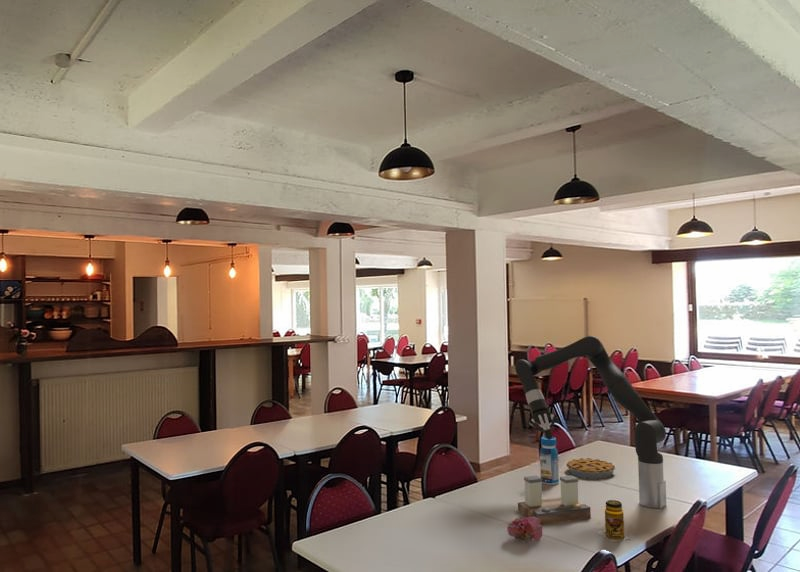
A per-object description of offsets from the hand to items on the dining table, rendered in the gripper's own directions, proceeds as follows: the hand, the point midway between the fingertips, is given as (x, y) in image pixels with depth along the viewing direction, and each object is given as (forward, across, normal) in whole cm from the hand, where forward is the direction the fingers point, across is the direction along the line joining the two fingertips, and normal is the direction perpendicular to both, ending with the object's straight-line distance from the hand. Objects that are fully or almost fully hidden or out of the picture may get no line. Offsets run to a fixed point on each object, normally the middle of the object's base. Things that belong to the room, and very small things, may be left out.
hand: (549, 439), depth 248 cm
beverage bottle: (+13, +1, -24) cm, 27 cm away
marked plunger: (+29, +4, +11) cm, 31 cm away
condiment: (+45, -3, +28) cm, 53 cm away
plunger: (+26, +18, +12) cm, 33 cm away
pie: (+11, -22, -37) cm, 44 cm away
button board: (+31, +11, +11) cm, 34 cm away
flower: (+40, +28, +32) cm, 58 cm away
